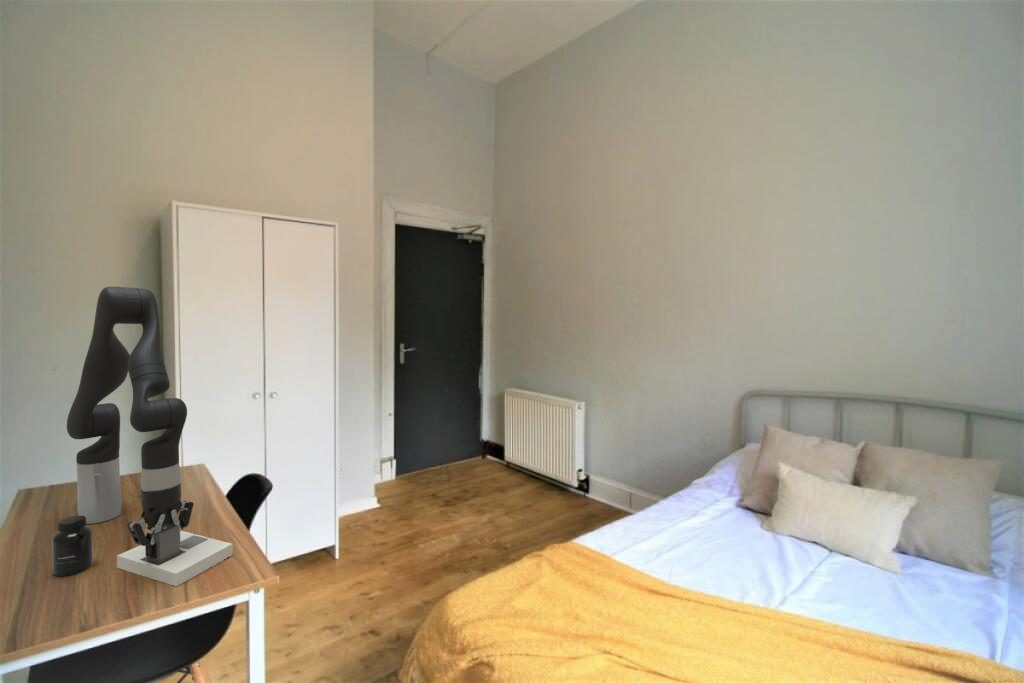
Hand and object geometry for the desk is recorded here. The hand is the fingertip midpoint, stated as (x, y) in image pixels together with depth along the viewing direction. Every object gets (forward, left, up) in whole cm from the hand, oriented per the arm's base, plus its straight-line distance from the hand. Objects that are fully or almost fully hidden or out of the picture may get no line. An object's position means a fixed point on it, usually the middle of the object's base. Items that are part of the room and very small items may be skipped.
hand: (163, 552), depth 110 cm
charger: (0, 0, -2) cm, 2 cm away
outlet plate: (0, +3, -4) cm, 5 cm away
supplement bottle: (-19, -8, -4) cm, 21 cm away
